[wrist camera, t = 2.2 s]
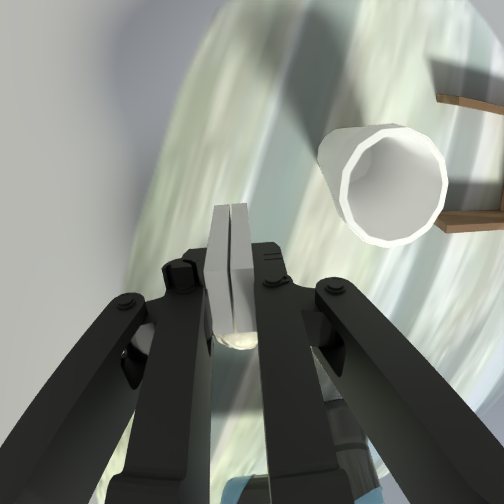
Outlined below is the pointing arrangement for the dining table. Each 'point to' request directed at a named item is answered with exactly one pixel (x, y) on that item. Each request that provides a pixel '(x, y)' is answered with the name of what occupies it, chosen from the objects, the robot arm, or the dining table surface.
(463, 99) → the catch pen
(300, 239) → the dining table surface
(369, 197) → the foam cup
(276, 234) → the dining table surface
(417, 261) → the dining table surface
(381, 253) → the dining table surface
